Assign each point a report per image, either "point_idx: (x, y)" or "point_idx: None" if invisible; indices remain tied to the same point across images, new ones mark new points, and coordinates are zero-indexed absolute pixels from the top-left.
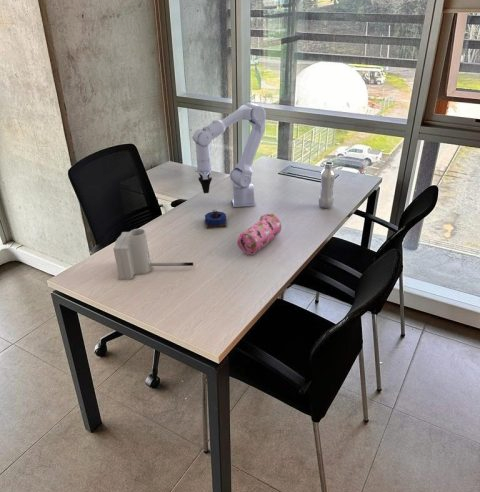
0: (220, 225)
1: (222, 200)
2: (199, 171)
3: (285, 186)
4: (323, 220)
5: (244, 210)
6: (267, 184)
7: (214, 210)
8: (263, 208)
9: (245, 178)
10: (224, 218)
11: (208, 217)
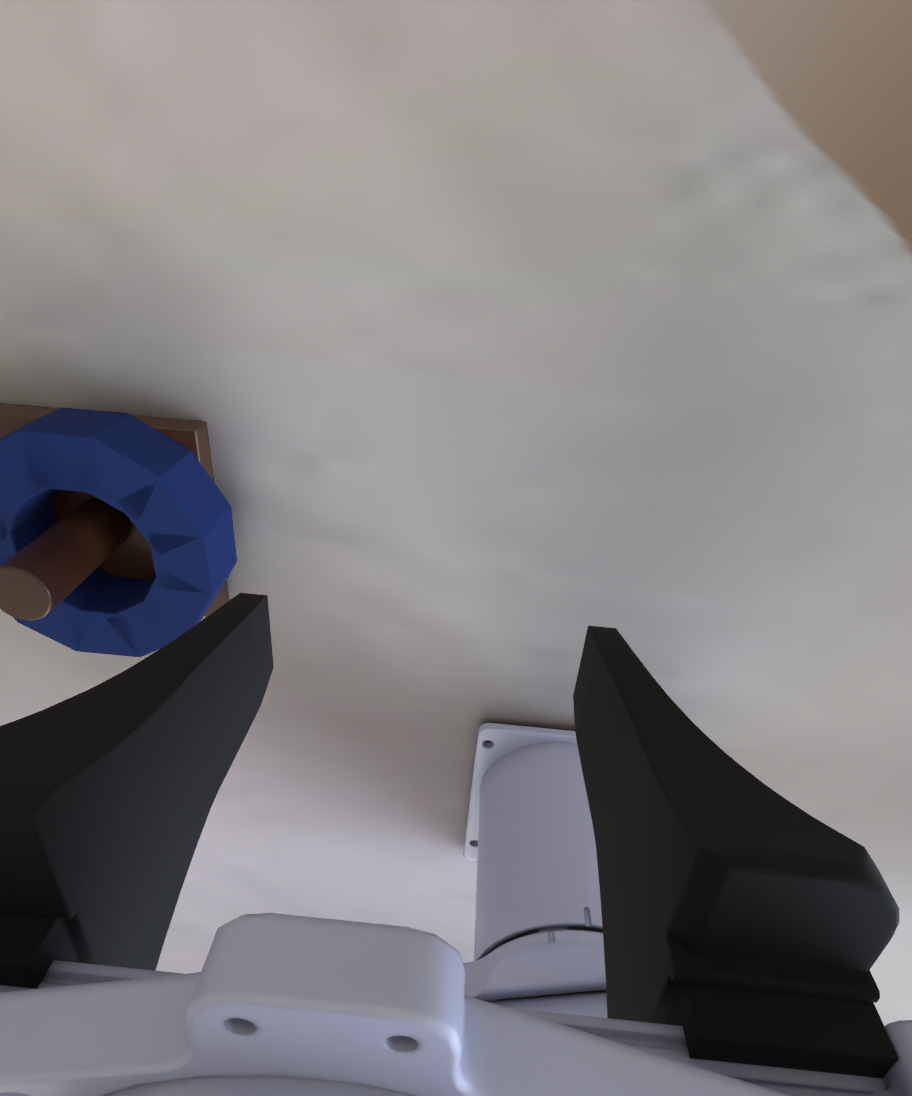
0: None
1: (711, 660)
2: (47, 1092)
3: None
4: None
5: (395, 777)
6: None
7: (21, 589)
8: (403, 886)
9: None
10: (47, 626)
11: (26, 472)
